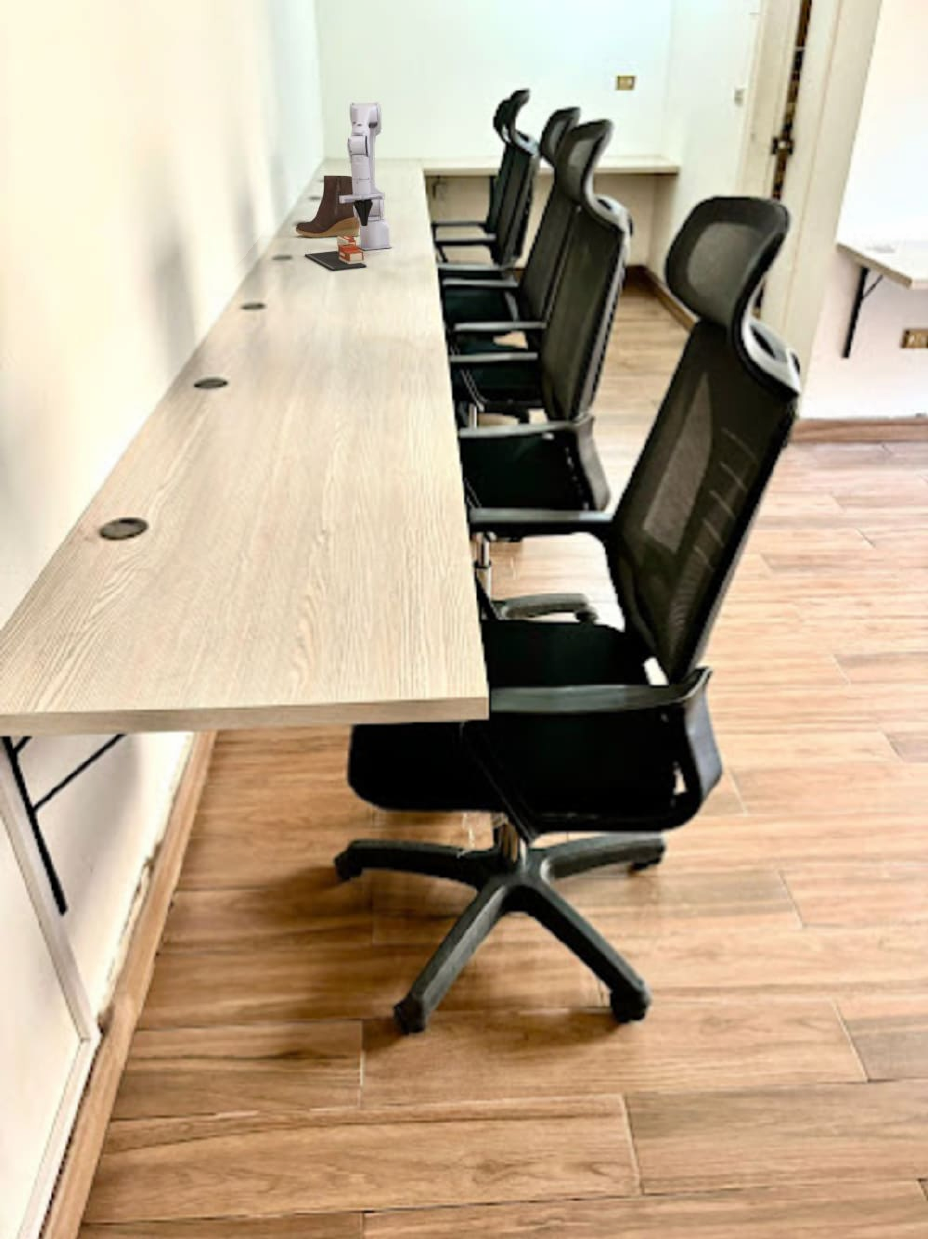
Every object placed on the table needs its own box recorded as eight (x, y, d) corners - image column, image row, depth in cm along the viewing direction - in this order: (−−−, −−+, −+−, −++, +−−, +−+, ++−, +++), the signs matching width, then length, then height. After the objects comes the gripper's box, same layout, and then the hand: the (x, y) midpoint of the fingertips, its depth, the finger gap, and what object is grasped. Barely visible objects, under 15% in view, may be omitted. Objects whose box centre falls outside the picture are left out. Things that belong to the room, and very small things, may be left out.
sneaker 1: (350, 251, 316) (348, 235, 313) (359, 256, 308) (358, 239, 306) (338, 252, 314) (336, 236, 312) (347, 257, 307) (346, 240, 304)
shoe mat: (337, 252, 314) (336, 250, 314) (366, 267, 293) (366, 265, 292) (305, 256, 311) (304, 253, 310) (332, 271, 289) (332, 268, 288)
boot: (299, 234, 347) (293, 173, 337) (364, 233, 345) (360, 173, 334) (293, 238, 340) (287, 176, 329) (360, 238, 337) (355, 176, 327)
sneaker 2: (352, 243, 301) (337, 245, 299) (363, 248, 294) (347, 249, 292) (354, 257, 303) (339, 259, 302) (364, 262, 296) (348, 264, 294)
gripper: (343, 182, 290) (346, 229, 297) (387, 178, 295) (390, 225, 302) (335, 179, 295) (339, 226, 302) (379, 176, 300) (382, 222, 307)
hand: (364, 225), depth 302 cm, fingers closed
